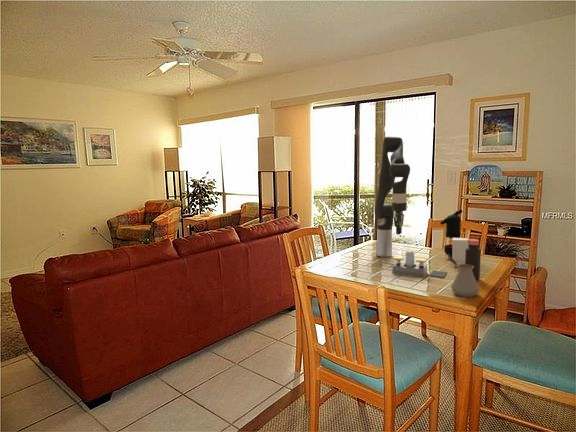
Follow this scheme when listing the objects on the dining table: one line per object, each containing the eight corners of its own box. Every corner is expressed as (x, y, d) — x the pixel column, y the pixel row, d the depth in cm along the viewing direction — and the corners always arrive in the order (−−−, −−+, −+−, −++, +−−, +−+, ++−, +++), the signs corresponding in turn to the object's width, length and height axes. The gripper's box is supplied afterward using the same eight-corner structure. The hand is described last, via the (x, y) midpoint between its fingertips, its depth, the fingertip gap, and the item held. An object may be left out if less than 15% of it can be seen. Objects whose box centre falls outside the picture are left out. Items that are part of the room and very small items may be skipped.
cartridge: (404, 273, 200) (404, 251, 198) (406, 271, 204) (406, 249, 202) (413, 274, 198) (413, 252, 196) (414, 272, 202) (415, 250, 200)
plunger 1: (393, 266, 203) (393, 257, 202) (395, 264, 206) (395, 255, 206) (401, 267, 200) (401, 258, 200) (403, 265, 204) (403, 256, 204)
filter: (456, 256, 234) (457, 208, 230) (464, 259, 225) (466, 210, 221) (435, 257, 232) (436, 209, 228) (443, 260, 223) (444, 211, 219)
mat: (429, 276, 194) (429, 275, 194) (432, 271, 202) (432, 270, 202) (444, 278, 190) (444, 277, 190) (446, 272, 199) (446, 272, 199)
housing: (392, 273, 201) (392, 266, 200) (397, 268, 209) (397, 261, 209) (423, 277, 193) (423, 269, 192) (427, 272, 201) (427, 265, 201)
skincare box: (467, 264, 213) (468, 238, 211) (468, 267, 207) (469, 240, 205) (451, 263, 217) (452, 237, 215) (451, 266, 211) (452, 239, 209)
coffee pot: (485, 297, 162) (486, 263, 160) (460, 299, 160) (461, 265, 158) (457, 282, 183) (458, 252, 181) (434, 284, 181) (435, 254, 179)
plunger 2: (416, 268, 197) (416, 260, 196) (417, 266, 200) (418, 258, 200) (425, 269, 194) (425, 260, 194) (426, 267, 198) (426, 259, 198)
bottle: (472, 281, 183) (474, 241, 180) (461, 278, 189) (462, 239, 187) (482, 279, 186) (484, 240, 183) (471, 276, 192) (472, 238, 189)
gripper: (395, 200, 207) (395, 231, 209) (388, 202, 195) (388, 235, 197) (409, 200, 203) (408, 232, 205) (403, 203, 191) (402, 236, 193)
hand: (398, 233), depth 201 cm, fingers closed
